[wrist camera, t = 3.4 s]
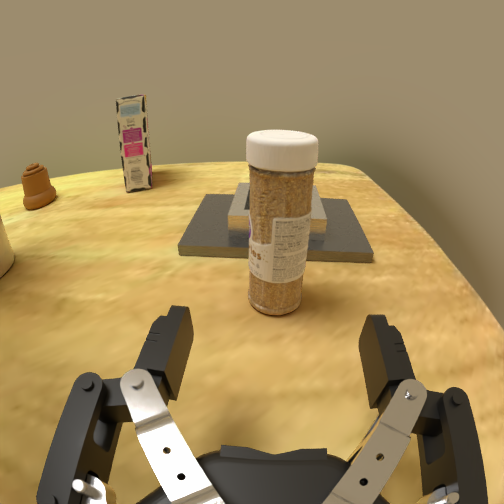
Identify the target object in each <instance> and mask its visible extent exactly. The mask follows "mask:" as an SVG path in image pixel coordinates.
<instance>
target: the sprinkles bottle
mask: <svg viewBox="0 0 504 504" xmlns="http://www.w3.org/2000/svg"><path fill="white" fill-rule="evenodd" d="M246 157H247V162H248V163H249V165H248V166H249V170H250V175H249V176H250V210H249V269H250V276H249V278H250V288H249V291H248V299H249V301H250V303H251V305H252V306H253V307H254V308H255V309H256V310H258V311H260V312H262V313H265V314H269V315H282V314H286V313H289V312H292V311H294V310H295V309H296V308H298V306H299V305H300V303H301V299H302V293H301V287H302V280H303V273H304V271H305V265H306V257H307V249H308V240H309V232H310V222H311V212H312V207H311V201H312V189H313V178H314V176H313V175H314V171H315V169H316V168H315V166H316V165H317V160H318V139H317V138H316V137H314V136H313V135H311V134H307V133H303V132H298V131H289V130H263V131H257V132H253V133H251V134H249V135H248V137H247V147H246Z"/></svg>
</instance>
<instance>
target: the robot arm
mask: <svg viewBox="0 0 504 504" xmlns="http://www.w3.org/2000/svg"><path fill="white" fill-rule="evenodd" d="M14 257H15V256H14V253H13V250H12V248H11V245H10V242H9V240H8V237H7V234H6V231H5V228H4V225H3V222H2V219H1V216H0V277H2V276H3V275H4V274H5V273H6V272H7V270H8V269H9V268H10V267H11V265H12V264H13V261H14ZM193 335H194V332H193V325H192V320H191V315H190V310H189V307H185V306H174V305H172V306H171V308H170V310H169V312H168V315H167V316H159V317H158V318H157V319H156V320H155V321H154V322H153V324H152V326H151V328H150V331H149V334H148V335H147V338H146V341H145V343H144V345H143V347H142V350H141V352H140V355H139V357H138V360H137V362H136V365H135V367H134V369H133V370H130V371H128V372H126V373H125V374H124V375H123V377H121V378H115V379H103V380H102V379H101V378H100V376H99V375H97V374H96V373H92V372H87V373H84V374H82V375H80V376H79V377H78V378H77V379H76V381H75V382H74V385H73V387H72V390H71V392H70V395H69V397H68V400H67V402H66V405H65V407H64V410H63V413H62V415H61V418H60V421H59V423H58V426H57V429H56V432H55V435H54V438H53V441H52V444H51V447H50V450H49V453H48V456H47V459H46V462H45V466H44V469H43V473H42V476H41V480H40V483H39V487H38V491H37V496H36V500H37V504H116V494H115V492H114V490H113V488H112V487H111V486H109V485H108V480H109V475H110V471H111V467H112V462H113V458H114V454H115V450H116V446H117V442H118V438H119V434H120V431H121V427H122V423H123V422H134V423H135V426H136V428H135V431H136V433H137V436H138V438H139V440H140V443H141V445H142V447H143V449H144V451H145V453H146V456H147V458H148V460H149V462H150V464H151V466H152V468H153V470H154V472H155V474H156V476H157V477H158V479H159V481H160V483H161V486H160V487H158V488H157V489H156V490H154V491H153V492H152V493H150V494H149V495H147V496H146V497H145V498H143V499H142V500H140V501H139V502H137V503H136V504H390V503H389V502H387V501H386V500H385V499H384V498H383V497H382V496H381V495H380V494H379V493H380V492H381V490H382V489H383V487H384V486H385V484H386V483H387V481H388V479H389V478H390V476H391V474H392V473H393V471H394V469H395V468H396V466H397V464H398V462H399V461H400V459H401V457H402V455H403V453H404V452H405V450H406V448H407V446H408V444H409V442H410V439H411V437H409V436H410V433H414V434H417V440H418V448H419V456H420V466H421V476H422V490H423V497H421V498H420V499H419V500H418V502H417V503H416V504H488V496H487V487H486V479H485V472H484V465H483V459H482V454H481V449H480V444H479V439H478V434H477V430H476V426H475V422H474V417H473V414H472V410H471V406H470V402H469V399H468V396H467V394H466V393H465V392H464V391H463V390H462V389H460V388H457V387H451V388H449V389H447V390H446V391H445V393H439V392H433V391H429V390H426V388H425V387H424V385H423V384H422V383H421V382H419V381H417V380H416V379H415V376H414V373H413V369H412V366H411V363H410V360H409V357H408V354H407V352H406V347H405V345H404V342H403V339H402V336H401V333H400V332H399V331H398V330H397V329H396V327H395V326H389V325H388V322H387V319H386V317H385V315H368V316H367V318H366V321H365V324H364V327H363V329H362V332H361V335H360V338H359V352H360V357H361V362H362V367H363V372H364V377H365V383H366V388H367V394H368V400H369V406H370V409H373V408H378V412H379V414H378V415H377V417H376V419H375V420H374V422H373V423H372V425H371V427H370V428H369V430H368V431H367V433H366V434H365V436H364V437H363V439H362V440H361V442H360V443H359V445H358V446H357V447H356V449H355V450H354V451H353V453H352V454H351V455H350V456H349V458H348V459H347V460H346V461H345V460H343V459H341V458H339V457H336V456H333V455H330V454H327V448H322V449H299V450H295V451H291V452H286V453H281V454H276V455H273V454H269V453H265V452H262V451H258V450H255V449H251V448H248V447H237V446H227V445H221V450H219V451H213V452H209V453H206V454H204V455H201V456H199V457H198V458H196V459H195V457H194V456H193V454H192V452H191V451H190V449H189V447H188V446H187V444H186V442H185V440H184V439H183V437H182V435H181V433H180V432H179V430H178V428H177V426H176V424H175V422H174V421H173V419H172V417H171V415H170V413H169V411H168V409H167V405H168V401H169V400H175V401H177V397H178V393H179V389H180V386H181V382H182V378H183V375H184V371H185V368H186V364H187V360H188V357H189V353H190V350H191V346H192V343H193Z"/></svg>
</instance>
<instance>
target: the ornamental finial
mask: <svg viewBox="0 0 504 504" xmlns="http://www.w3.org/2000/svg"><path fill="white" fill-rule="evenodd" d="M21 179H22V185H23V189H24V194H25V196H24V199H23V204H24V206H25V207H26V208H27V209H29V210H34V209H38V208H41V207H43V206H45V205H47V204H49V203H51V202H52V201H53V200H54V199H55V197H56V190H55V188H54V187H53V186H51V183H50V180H49V176H48V172H47V168H46V167H44V166H43V165H39V164H38V163H34V164H31V165H29V166H27V168H26V171H24V172H23V176H22V177H21Z"/></svg>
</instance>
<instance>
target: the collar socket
mask: <svg viewBox="0 0 504 504" xmlns="http://www.w3.org/2000/svg"><path fill="white" fill-rule="evenodd" d="M311 207H312V212H311V222H310V232H309V240H308V249H307V257H306V260H310V261H337V262H365V263H371V262H372V258H373V254H374V253H373V250H372V248H371V246H370V244H369V242H368V240H367V238H366V236H365V234H364V232H363V230H362V228H361V226H360V224H359V222H358V220H357V218H356V216H355V214H354V212H353V210H352V209H351V207H350V205H349V203H348V201H347V200H344V199H330V198H320V197H319V194H318V191H317V188H316V186H314V185H313V189H312V201H311ZM249 210H250V183H239V184H238V187H237V190H236V193H235V195H228V194H206V196H205V197H204V199H203V201H202V202H201V204H200V206H199V208H198V209H197V211H196V213H195V215H194V216H193V218H192V220H191V222H190V224H189V225H188V227H187V229H186V231H185V233H184V234H183V236H182V238H181V240H180V242H179V244H178V251H179V255H189V256H212V257H235V258H249Z"/></svg>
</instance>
